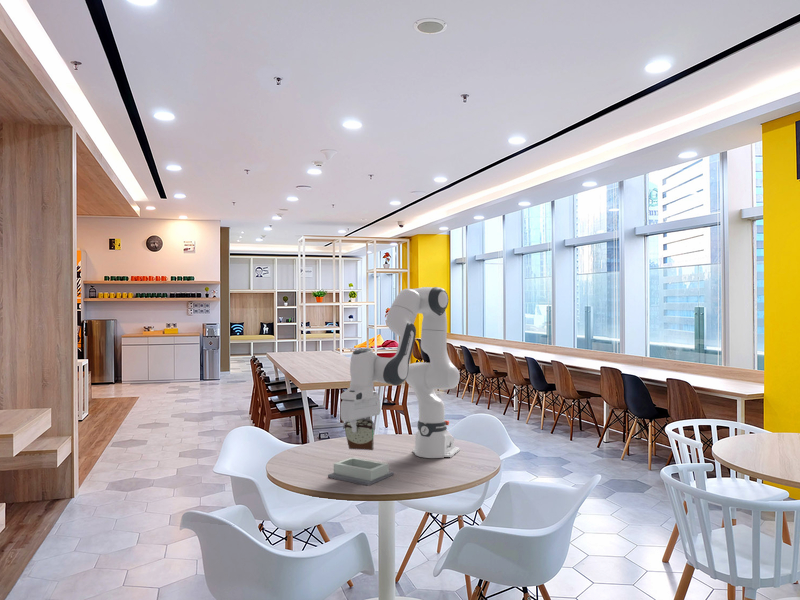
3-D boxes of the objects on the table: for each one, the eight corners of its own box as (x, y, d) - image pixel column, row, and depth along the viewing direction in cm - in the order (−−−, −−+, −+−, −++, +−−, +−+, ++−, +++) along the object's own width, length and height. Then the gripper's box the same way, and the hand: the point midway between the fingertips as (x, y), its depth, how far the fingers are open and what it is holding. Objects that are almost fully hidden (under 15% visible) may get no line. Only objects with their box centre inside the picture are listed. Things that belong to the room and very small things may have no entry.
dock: (355, 467, 211) (355, 455, 211) (393, 474, 201) (393, 462, 201) (328, 477, 197) (328, 464, 197) (368, 485, 187) (368, 472, 188)
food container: (381, 442, 202) (379, 417, 201) (376, 450, 197) (373, 424, 195) (351, 441, 206) (348, 416, 204) (345, 449, 200) (342, 423, 199)
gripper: (371, 389, 210) (370, 425, 210) (337, 394, 193) (337, 433, 193) (384, 390, 207) (384, 427, 206) (351, 396, 190) (351, 436, 189)
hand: (361, 430), depth 199 cm, fingers closed on food container, 6 cm apart
